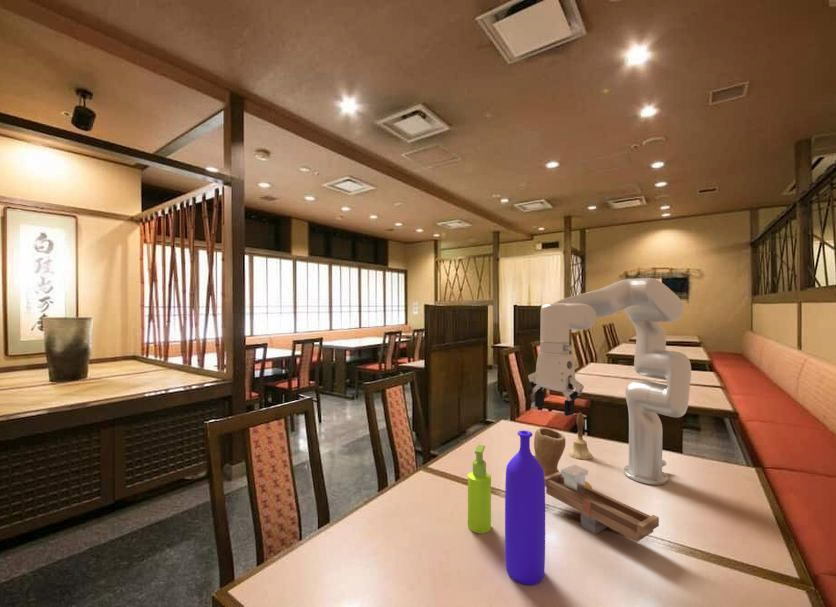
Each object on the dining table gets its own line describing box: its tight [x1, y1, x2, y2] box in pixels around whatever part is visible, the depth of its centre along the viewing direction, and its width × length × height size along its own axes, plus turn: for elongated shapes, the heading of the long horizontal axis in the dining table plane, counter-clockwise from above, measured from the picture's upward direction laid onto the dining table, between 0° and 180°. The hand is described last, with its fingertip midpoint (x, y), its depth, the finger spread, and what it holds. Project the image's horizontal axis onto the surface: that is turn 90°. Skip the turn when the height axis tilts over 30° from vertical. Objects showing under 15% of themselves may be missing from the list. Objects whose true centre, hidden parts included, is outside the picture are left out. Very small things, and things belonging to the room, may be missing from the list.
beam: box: [544, 471, 660, 543], centre depth 97 cm, size 7×27×8 cm, turn 32°
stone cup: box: [533, 427, 566, 477], centre depth 126 cm, size 15×12×15 cm
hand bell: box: [568, 412, 593, 461], centre depth 142 cm, size 8×8×16 cm
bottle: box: [504, 430, 546, 586], centre depth 80 cm, size 8×8×30 cm
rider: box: [560, 464, 589, 495], centre depth 102 cm, size 6×4×6 cm, turn 122°
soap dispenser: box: [467, 444, 492, 534], centre depth 97 cm, size 6×7×20 cm
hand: (553, 410), depth 103 cm, fingers open, 9 cm apart
